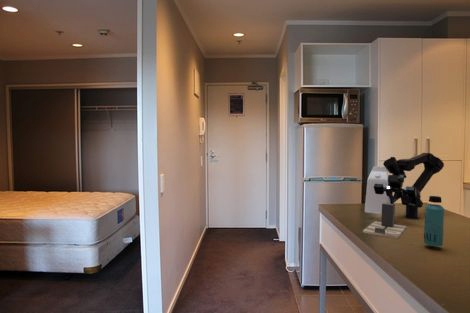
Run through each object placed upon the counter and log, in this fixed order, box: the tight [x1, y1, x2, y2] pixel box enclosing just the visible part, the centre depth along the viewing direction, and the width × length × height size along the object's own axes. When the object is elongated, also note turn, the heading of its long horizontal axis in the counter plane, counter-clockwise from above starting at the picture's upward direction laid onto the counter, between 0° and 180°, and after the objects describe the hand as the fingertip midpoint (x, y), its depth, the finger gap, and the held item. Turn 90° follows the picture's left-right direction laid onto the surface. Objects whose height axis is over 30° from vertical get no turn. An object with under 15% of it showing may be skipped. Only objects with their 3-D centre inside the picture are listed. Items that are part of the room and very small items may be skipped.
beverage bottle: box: [423, 195, 445, 248], centre depth 123 cm, size 6×7×20 cm
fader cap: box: [380, 203, 396, 227], centre depth 150 cm, size 4×5×10 cm
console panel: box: [362, 221, 407, 240], centre depth 147 cm, size 20×14×3 cm
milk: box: [364, 165, 390, 215], centre depth 185 cm, size 12×12×26 cm
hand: (391, 204), depth 156 cm, fingers closed
